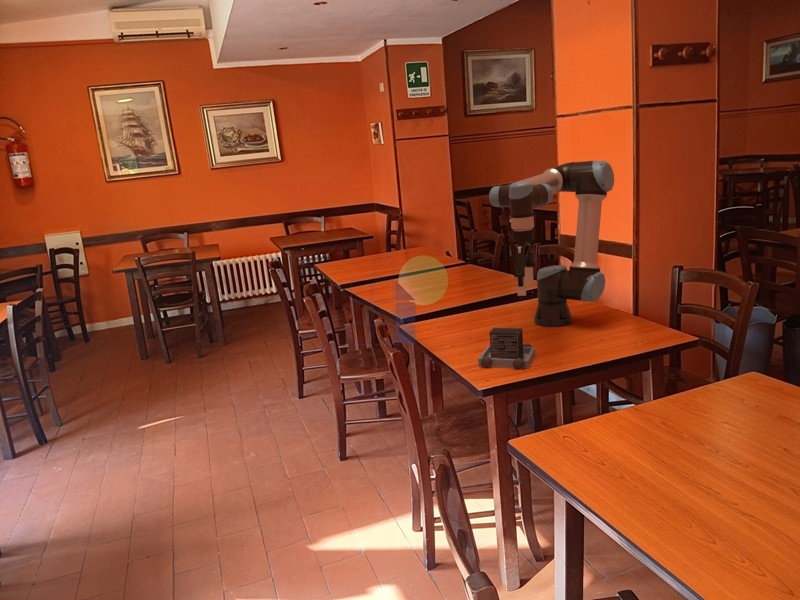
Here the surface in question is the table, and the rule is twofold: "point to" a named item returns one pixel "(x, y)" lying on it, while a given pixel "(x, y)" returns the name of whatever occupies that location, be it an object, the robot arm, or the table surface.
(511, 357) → the small box
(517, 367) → the chassis bay
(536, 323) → the robot arm
